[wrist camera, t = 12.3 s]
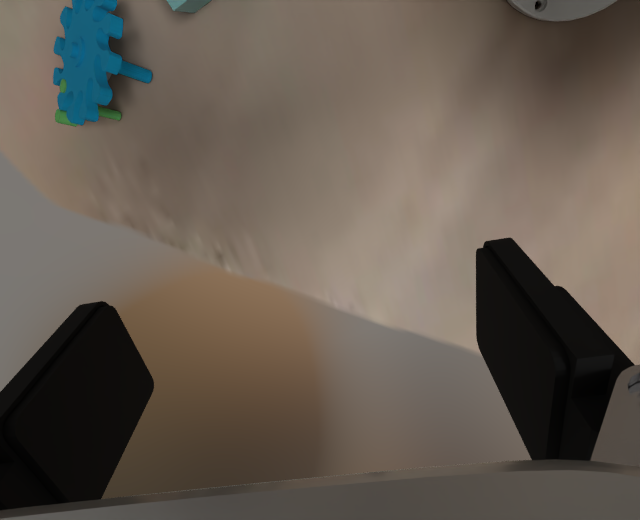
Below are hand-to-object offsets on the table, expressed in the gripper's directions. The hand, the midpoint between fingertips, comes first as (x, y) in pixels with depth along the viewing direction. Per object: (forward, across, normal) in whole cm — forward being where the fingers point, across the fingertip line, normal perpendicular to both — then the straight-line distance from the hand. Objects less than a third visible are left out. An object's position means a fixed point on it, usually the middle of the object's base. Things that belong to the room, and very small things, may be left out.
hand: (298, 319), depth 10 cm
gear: (+29, +16, -8) cm, 34 cm away
